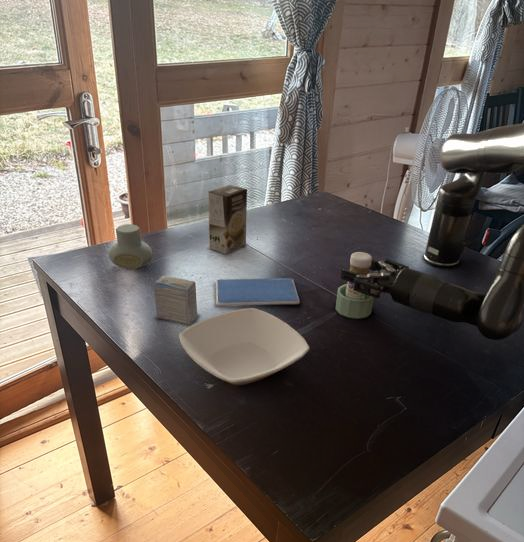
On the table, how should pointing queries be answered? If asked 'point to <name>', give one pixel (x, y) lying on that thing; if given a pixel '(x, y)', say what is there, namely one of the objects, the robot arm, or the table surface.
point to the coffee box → (227, 218)
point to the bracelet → (353, 305)
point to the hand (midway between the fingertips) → (352, 267)
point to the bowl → (243, 345)
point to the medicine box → (175, 299)
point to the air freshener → (130, 248)
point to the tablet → (256, 292)
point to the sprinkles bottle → (358, 272)
